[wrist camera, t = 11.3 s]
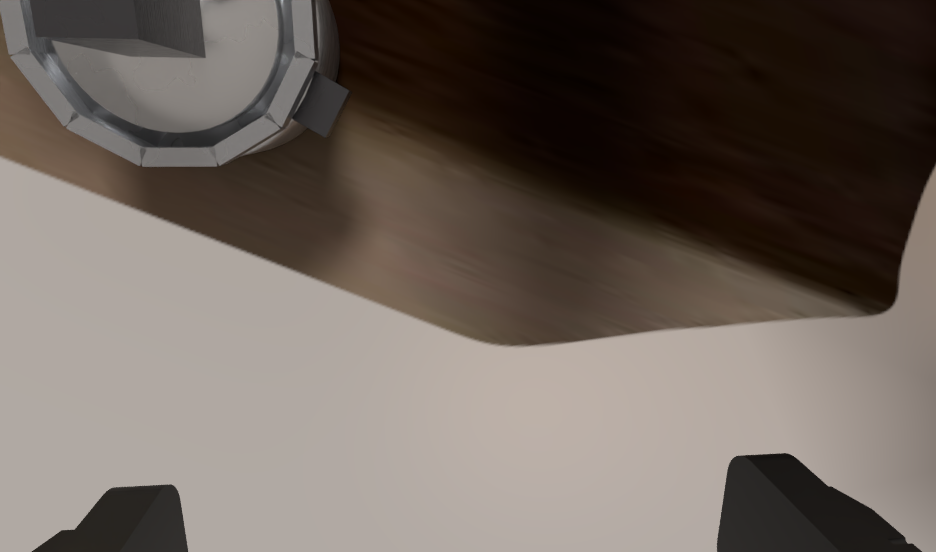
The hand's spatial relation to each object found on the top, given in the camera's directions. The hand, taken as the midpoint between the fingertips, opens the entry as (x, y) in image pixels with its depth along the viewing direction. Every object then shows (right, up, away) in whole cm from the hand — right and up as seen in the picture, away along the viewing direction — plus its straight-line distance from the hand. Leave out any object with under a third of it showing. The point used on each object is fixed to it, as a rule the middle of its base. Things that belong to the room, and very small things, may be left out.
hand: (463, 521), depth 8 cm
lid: (-12, +14, +16) cm, 25 cm away
